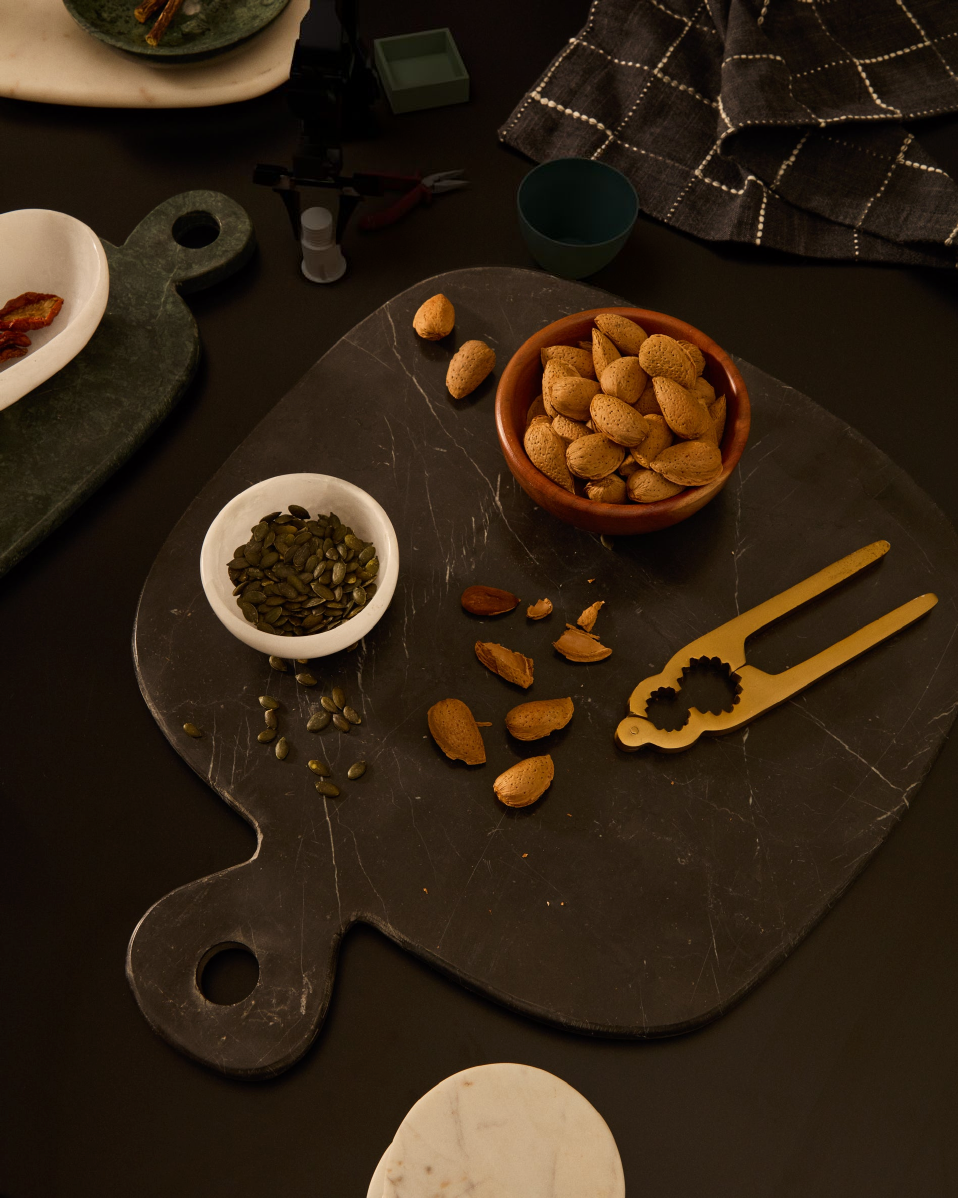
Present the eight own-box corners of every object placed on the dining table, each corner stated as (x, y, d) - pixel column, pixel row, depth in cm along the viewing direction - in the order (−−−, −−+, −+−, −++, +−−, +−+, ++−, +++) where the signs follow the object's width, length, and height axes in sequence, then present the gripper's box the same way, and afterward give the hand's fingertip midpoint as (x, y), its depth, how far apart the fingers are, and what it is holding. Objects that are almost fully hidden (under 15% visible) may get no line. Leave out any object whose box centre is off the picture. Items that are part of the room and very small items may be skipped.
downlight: (346, 285, 153) (340, 237, 144) (301, 287, 152) (292, 238, 143) (346, 247, 156) (339, 197, 147) (302, 249, 156) (293, 199, 147)
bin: (375, 63, 175) (373, 39, 171) (448, 51, 177) (448, 27, 173) (393, 114, 170) (392, 90, 165) (468, 101, 172) (469, 77, 167)
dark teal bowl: (646, 252, 157) (661, 191, 146) (585, 322, 151) (595, 264, 140) (554, 202, 162) (561, 139, 151) (490, 268, 155) (493, 207, 144)
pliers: (479, 205, 161) (479, 192, 158) (362, 235, 157) (361, 222, 155) (455, 159, 165) (455, 146, 163) (342, 187, 162) (340, 174, 160)
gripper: (242, 115, 135) (241, 235, 140) (376, 128, 135) (370, 248, 140) (263, 125, 146) (261, 236, 151) (387, 137, 145) (381, 248, 150)
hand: (317, 242), depth 148 cm, fingers closed on downlight, 6 cm apart
